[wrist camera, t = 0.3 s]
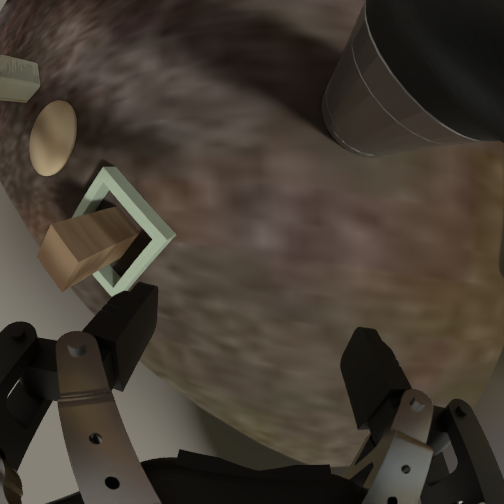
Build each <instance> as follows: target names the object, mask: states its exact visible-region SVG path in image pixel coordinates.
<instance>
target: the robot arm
mask: <svg viewBox="0 0 504 504" xmlns="http://www.w3.org/2000/svg"><path fill="white" fill-rule="evenodd" d="M321 111H322V116H323V121H324V123H325V125H326V128H327V130H328V131H329V133H330V134H331V136H332V137H333V138H334V139H335V140H336V141H337V142H338V143H339V144H340V145H341V146H342V147H344V148H345V149H347V150H348V151H350V152H353V153H355V154H358V155H362V156H369V157H375V156H381V155H387V154H394V153H400V152H406V151H413V150H419V149H426V148H433V147H441V146H449V145H456V144H465V143H475V142H486V141H501V142H503V143H504V0H365V2H364V5H363V7H362V9H361V11H360V14H359V16H358V18H357V20H356V23H355V26H354V28H353V30H352V32H351V35H350V37H349V39H348V41H347V44H346V46H345V48H344V50H343V52H342V55H341V57H340V59H339V61H338V64H337V66H336V68H335V70H334V73H333V75H332V77H331V79H330V81H329V83H328V86H327V88H326V90H325V92H324V95H323V99H322V108H321ZM157 307H158V287H157V286H155V285H151V284H147V283H143V282H138V283H137V284H136V285H135V286H134V287H133V289H132V290H131V291H130V292H129V291H125V290H124V291H122V292H120V293H118V294H116V295H114V296H113V297H112V298H111V299H110V300H109V301H108V302H107V304H105V306H104V307H103V308H102V310H100V311H99V312H98V313H97V314H96V316H95V317H94V318H93V319H92V320H91V321H90V322H89V324H88V325H87V326H86V327H85V328H84V329H83V331H73V332H68V333H66V334H64V335H62V336H61V337H60V338H59V339H58V341H55V340H50V339H44V338H38V337H37V334H36V330H35V328H34V327H33V326H32V325H31V324H29V323H27V322H14V323H12V324H9V325H8V326H7V327H5V328H4V330H2V331H1V332H0V504H22V501H21V497H22V495H23V490H22V482H21V479H20V476H19V475H18V473H17V470H18V468H19V466H20V464H21V461H22V459H23V457H24V455H25V453H26V451H27V449H28V446H29V444H30V442H31V440H32V438H33V436H34V434H35V432H36V430H37V428H38V427H39V425H40V423H41V421H42V419H43V417H44V415H45V414H46V412H47V410H48V408H49V406H50V405H51V403H52V401H53V400H54V401H58V409H59V416H60V421H61V426H62V431H63V435H64V440H65V444H66V448H67V452H68V455H69V459H70V462H71V466H72V469H73V472H74V476H75V478H76V481H77V484H78V487H79V490H80V491H79V492H76V493H74V494H71V495H68V496H66V497H63V498H61V499H58V500H55V501H52V502H49V503H46V504H417V503H418V500H419V497H420V498H421V503H422V504H504V479H503V477H502V474H501V471H500V469H499V466H498V464H497V461H496V459H495V456H494V454H493V452H492V449H491V447H490V445H489V443H488V440H487V438H486V436H485V434H484V432H483V430H482V428H481V426H480V424H479V422H478V420H477V418H476V416H475V414H474V412H473V410H472V408H471V407H470V406H469V405H468V404H467V403H466V402H465V401H463V400H461V399H453V400H452V401H451V402H450V403H449V404H448V405H447V406H446V408H443V407H438V406H434V405H433V402H432V400H431V399H430V397H429V396H428V395H427V394H425V393H424V392H422V391H420V390H417V389H412V387H411V385H410V384H409V382H408V380H407V378H406V376H405V374H404V372H403V370H402V368H401V367H400V364H399V362H398V361H397V360H396V357H395V355H394V353H393V351H392V350H391V349H390V348H389V347H388V346H387V345H386V344H385V343H384V342H383V341H382V340H381V338H380V336H379V334H378V332H377V331H376V330H375V329H371V328H364V327H358V328H356V330H355V331H354V333H353V335H352V337H351V339H350V341H349V343H348V345H347V347H346V349H345V351H344V353H343V355H342V358H341V363H340V368H341V372H342V375H343V378H344V382H345V385H346V389H347V392H348V395H349V399H350V402H351V406H352V409H353V413H354V417H355V420H356V424H357V428H358V430H363V429H370V432H371V433H370V434H369V435H368V436H367V437H366V439H365V441H364V443H363V444H362V446H361V448H360V450H359V452H358V453H357V455H356V457H355V459H354V460H353V462H352V464H351V465H350V467H349V468H348V470H347V471H346V473H345V474H344V475H343V476H342V477H341V476H338V475H334V474H331V470H330V465H293V466H288V467H282V468H276V469H269V470H263V471H257V470H252V469H249V468H246V467H243V466H240V465H237V464H234V463H232V462H229V461H226V460H223V459H221V458H218V457H213V456H208V455H203V454H198V453H194V452H189V451H184V450H181V449H180V450H179V453H178V457H177V458H173V457H171V458H170V457H169V458H157V459H151V460H148V461H143V462H141V463H140V462H139V460H138V457H137V455H136V453H135V451H134V449H133V446H132V444H131V442H130V440H129V437H128V434H127V432H126V430H125V427H124V425H123V422H122V419H121V417H120V414H119V411H118V408H117V405H116V403H115V400H114V397H113V394H112V392H111V391H112V389H113V388H114V389H116V390H119V391H122V392H123V390H124V388H125V386H126V384H127V382H128V380H129V378H130V377H131V375H132V373H133V371H134V369H135V367H136V365H137V363H138V361H139V359H140V357H141V356H142V354H143V352H144V350H145V348H146V346H147V344H148V343H149V341H150V339H151V337H152V335H153V333H154V331H155V328H156V323H157ZM18 379H19V382H18V383H17V385H16V386H15V388H14V389H13V391H12V392H11V394H10V395H9V397H8V398H7V396H8V394H9V392H10V391H11V389H12V388H13V387H14V385H15V384H16V382H17V381H18ZM450 443H451V444H452V446H453V449H454V451H455V454H456V456H457V460H458V465H457V467H456V469H455V471H454V472H452V473H451V474H449V471H448V468H447V465H446V462H445V459H444V456H443V453H442V451H443V450H444V449H445V448H446V447H447V446H448V445H449V444H450Z"/></svg>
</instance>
